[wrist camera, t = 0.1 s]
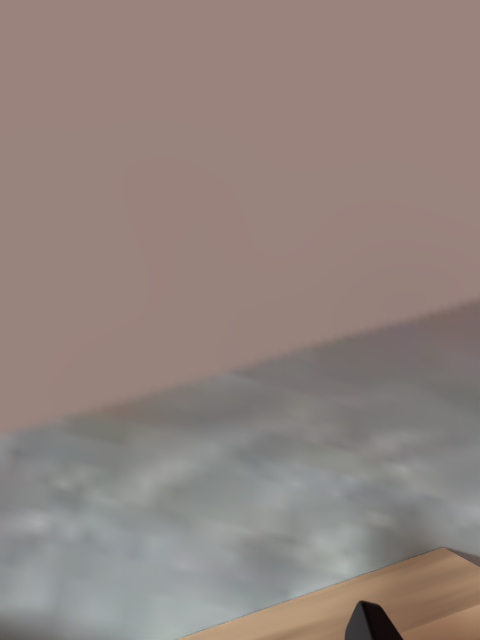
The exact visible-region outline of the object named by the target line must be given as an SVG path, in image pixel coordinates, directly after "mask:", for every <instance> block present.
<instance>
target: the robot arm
mask: <svg viewBox="0 0 480 640" xmlns="http://www.w3.org/2000/svg"><path fill="white" fill-rule="evenodd" d="M345 640H404V639H403V638H402V636H401V635H400V633H399V632H398V630H397V629H396V627H395V626H394V624H393V623H392V621H391V620H390V618H389V617H388V615H387V614H386V612H385V611H384V609H383V608H382V607H381V606H380V605H379V604H376V603H373V602H368V601H364V600H360V601H359V602H358V603H357V604H356V606H355V609H354V611H353V613H352V615H351V618H350V620H349V622H348V624H347V627H346V631H345Z"/></svg>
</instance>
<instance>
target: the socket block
mask: <svg viewBox="0 0 480 640" xmlns="http://www.w3.org/2000/svg"><path fill="white" fill-rule="evenodd" d="M360 600H364V601H368V602H373V603H376V604H379V605H380V606H381V607H382V608H383V609H384V611H385V612H386V614H387V615H388V617H389V618H390V620H391V621H392V623H393V624H394V626H395V627H396V629H397V630H398V632H399V633H400V635H401V636H402V638H403V639H404V640H480V567H479V566H477V565H475V564H473V563H471V562H470V561H468V560H466V559H464V558H462V557H460V556H459V555H457V554H455V553H453V552H451V551H450V550H448V549H446V548H444V547H442V548H439V549H436V550H433V551H430V552H427V553H424V554H421V555H419V556H416V557H413V558H410V559H407V560H404V561H401V562H398V563H396V564H393V565H390V566H387V567H384V568H381V569H378V570H375V571H372V572H370V573H367V574H364V575H361V576H358V577H355V578H352V579H349V580H347V581H344V582H341V583H338V584H335V585H332V586H329V587H326V588H324V589H321V590H318V591H315V592H312V593H309V594H306V595H303V596H301V597H298V598H295V599H292V600H289V601H286V602H283V603H280V604H278V605H275V606H272V607H269V608H266V609H263V610H260V611H257V612H254V613H252V614H249V615H246V616H243V617H240V618H237V619H234V620H231V621H229V622H226V623H223V624H220V625H217V626H214V627H211V628H208V629H206V630H203V631H200V632H197V633H194V634H191V635H188V636H185V637H183V638H180V639H177V640H345V631H346V627H347V624H348V622H349V620H350V618H351V615H352V613H353V611H354V609H355V606H356V604H357V603H358V602H359V601H360Z"/></svg>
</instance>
